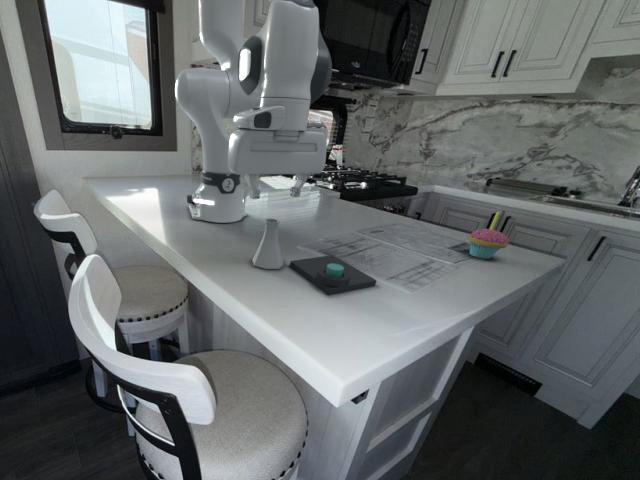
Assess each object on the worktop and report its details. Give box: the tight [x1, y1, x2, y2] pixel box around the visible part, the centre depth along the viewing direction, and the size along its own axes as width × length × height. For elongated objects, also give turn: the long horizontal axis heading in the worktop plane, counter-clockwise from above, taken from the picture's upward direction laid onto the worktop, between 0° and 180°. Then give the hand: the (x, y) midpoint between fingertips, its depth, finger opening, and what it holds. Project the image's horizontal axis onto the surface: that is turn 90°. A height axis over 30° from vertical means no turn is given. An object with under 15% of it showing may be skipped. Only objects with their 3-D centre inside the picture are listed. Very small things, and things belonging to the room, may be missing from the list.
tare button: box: [326, 264, 344, 278], centre depth 60 cm, size 3×3×2 cm
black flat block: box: [289, 254, 378, 296], centre depth 65 cm, size 14×12×3 cm
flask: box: [252, 218, 285, 270], centre depth 67 cm, size 7×7×10 cm
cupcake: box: [467, 208, 510, 260], centre depth 79 cm, size 9×8×12 cm
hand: (275, 197), depth 62 cm, fingers open, 8 cm apart
